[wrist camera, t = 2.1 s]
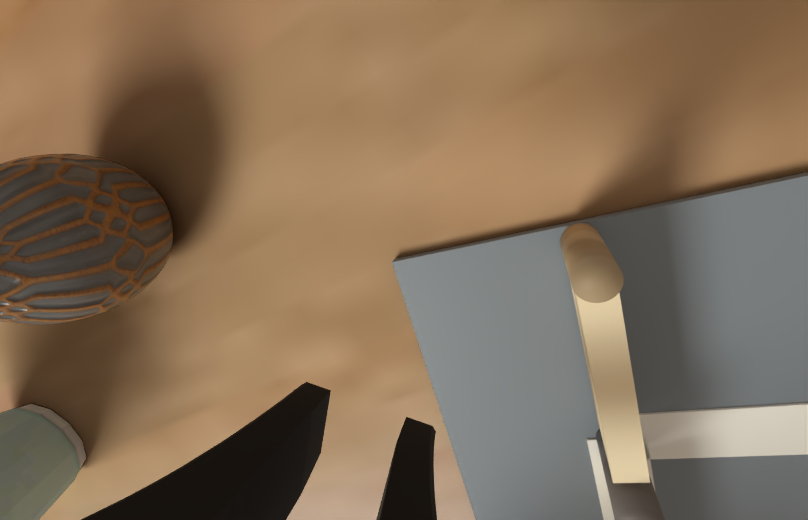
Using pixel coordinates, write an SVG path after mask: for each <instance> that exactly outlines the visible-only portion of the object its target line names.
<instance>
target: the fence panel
mask: <svg viewBox="0 0 808 520" xmlns="http://www.w3.org/2000/svg"><path fill="white" fill-rule="evenodd" d="M560 246H561V250H562V253H563V257H564V261H565V264H566V268H567V271H568V275H569V278H570V283H571V288H572V293H573V298H574V303H575V308H576V313H577V318H578V323H579V328H580V333H581V338H582V343H583V348H584V353H585V358H586V364H587V369H588V374H589V379H590V384H591V389H592V394H593V399H594V404H595V409H596V414H597V419H598V424H599V428H600V432H601V436H602V440H603V444H604V448H605V452H606V456H607V460H608V464H609V468H610V472H611V477H612V481H613V483H650V478H649V472H648V465H647V459H646V453H645V447H644V441H643V435H642V429H641V422H640V416H639V410H638V404H637V398H636V392H635V385H634V379H633V373H632V367H631V361H630V355H629V349H628V342H627V336H626V330H625V324H624V318H623V312H622V305H621V299H620V293H619V292H620V291H621V289H622V286H623V282H624V278H623V274H622V271H621V270H620V268H619V266H618V264H617V263H616V261H615V259H614V258H613V256H612V254H611V253H610V251H609V249H608V248H607V246H606V244H605V242H604V241H603V239H602V237H601V236H600V234H599V232H598V231H597V229H596V228H594V227H593V226H591V225H589V224H585V223H578V224H574V225H571V226H569V227H568V228H567V229H566V230H565V231H564V232H563V233H562V235H561V238H560Z"/></svg>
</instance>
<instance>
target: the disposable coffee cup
mask: <svg viewBox="0 0 808 520" xmlns="http://www.w3.org/2000/svg"><path fill="white" fill-rule="evenodd" d="M85 460H86V454H85V450H84V446H83V442H82V440H81V439H80V437H79V436H78V435H77V433H76V432H75V431H74V429H73V428H72V427H71V425H70V424H69V423H68V422H67V421H65V420H64V419H63V418H61V417H60V416H58V415H57V414H56V413H54V412H53V411H52V410H50V409H47V408H44V407H40V406H37V405H33V404H29V405H25V406H22V407H19V408H14V409H11V410H8V411H4V412H2V413H0V520H39V519H40V518H41V517H42V516H43V515H44V513H45V512H46V511H47V510H48V509H49V508H50V507H51V506H52V505H53V503H54V502H55V501H56V500H57V499H58V498H59V497H60V496H61V494H62V493H63V492H64V491H65V490H66V489H67V488H68V487H69V486H70V484H71V483H72V482H73V481H74V480H75V478H76V476H77V474H78V472H79V470H80V469H81V467H82V465H83V463H84V461H85Z"/></svg>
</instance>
